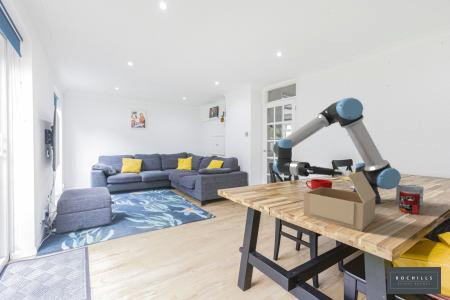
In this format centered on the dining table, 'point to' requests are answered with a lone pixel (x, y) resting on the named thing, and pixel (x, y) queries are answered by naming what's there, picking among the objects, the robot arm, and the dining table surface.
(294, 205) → the dining table surface
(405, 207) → the canned food
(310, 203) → the carton
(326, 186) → the ceramic cup
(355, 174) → the carton flap
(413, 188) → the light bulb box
